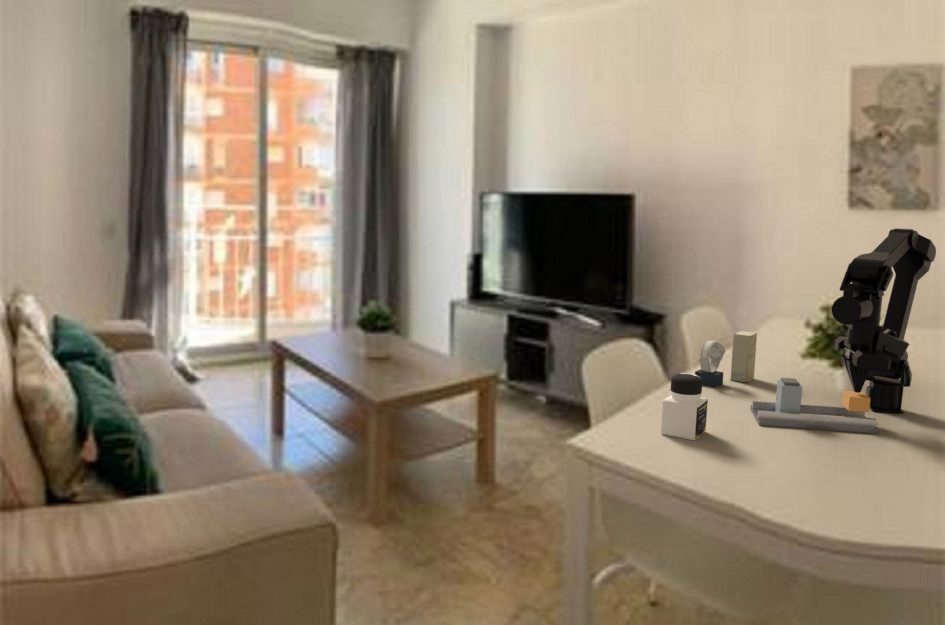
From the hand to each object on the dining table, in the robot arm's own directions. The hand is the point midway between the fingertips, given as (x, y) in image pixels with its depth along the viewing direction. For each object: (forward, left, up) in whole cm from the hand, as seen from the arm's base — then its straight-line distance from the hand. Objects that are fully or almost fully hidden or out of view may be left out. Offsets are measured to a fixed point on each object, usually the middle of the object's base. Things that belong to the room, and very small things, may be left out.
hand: (857, 392), depth 167 cm
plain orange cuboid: (0, 0, -4) cm, 3 cm away
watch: (+27, -27, -7) cm, 39 cm away
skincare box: (+18, -34, -7) cm, 39 cm away
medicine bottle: (+36, +15, -7) cm, 40 cm away
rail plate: (+9, 0, -7) cm, 11 cm away
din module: (+14, 0, -6) cm, 15 cm away
